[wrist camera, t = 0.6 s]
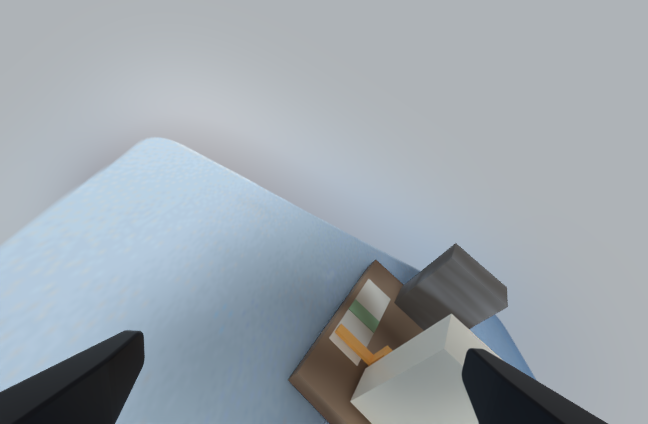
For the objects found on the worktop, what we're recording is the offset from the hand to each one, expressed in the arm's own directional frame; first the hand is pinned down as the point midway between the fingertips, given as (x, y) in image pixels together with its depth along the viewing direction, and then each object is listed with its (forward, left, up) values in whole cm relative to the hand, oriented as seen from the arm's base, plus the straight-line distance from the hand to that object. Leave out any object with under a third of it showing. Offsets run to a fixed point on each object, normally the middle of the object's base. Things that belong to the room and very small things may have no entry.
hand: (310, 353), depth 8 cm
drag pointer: (+8, -10, -12) cm, 18 cm away
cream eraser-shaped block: (+6, -13, -12) cm, 19 cm away
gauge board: (+10, -16, -14) cm, 23 cm away
